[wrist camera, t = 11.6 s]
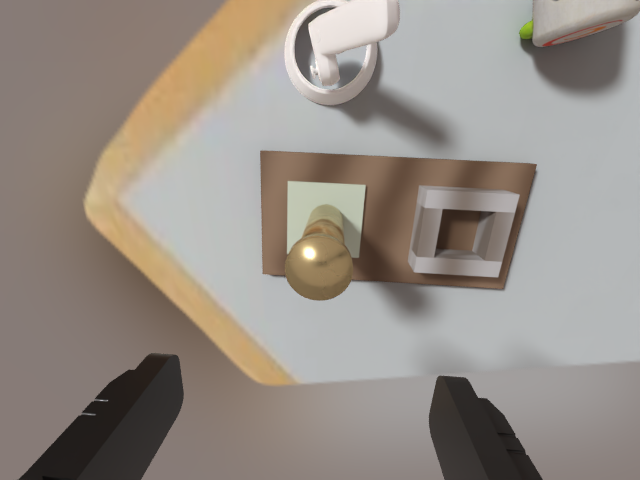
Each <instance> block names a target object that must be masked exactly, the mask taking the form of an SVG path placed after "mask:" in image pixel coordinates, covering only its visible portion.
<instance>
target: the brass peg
mask: <svg viewBox="0 0 640 480" xmlns="http://www.w3.org/2000/svg"><path fill="white" fill-rule="evenodd" d="M285 274H286V278H287V281H288V282H289V284H290V286H291V287H292V288H293V289H294V290H295V291H296V292H297V293H298V294H300V295H301V296H303V297H305V298H308V299H312V300H328V299H331V298H334V297H336V296H338V295H340V294H341V293H342V292H343V291H345V289H346V288H347V287H348V285H349V284H350V282H351V279H352V276H353V263H352V257H351V254H350V252H349V250H348V248H347V247H346V246H345V243H344V228H343V217H342V214H341V212H340V211H339V210H338V209H337V208H336V207H334V206H332V205H328V204H324V205H320V206H317V207H316V208H315V209H313V211H312V212H311V214H310V216H309V219H308V222H307V224H306V227H305V230H304V232H303V235H302V238H301V239H300V240H298V241H297V242H296V243H295V244H294V245H293V246H292V248H291V250H290V251H289V254H288V256H287V259H286V262H285Z"/></svg>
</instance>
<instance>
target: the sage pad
mask: <svg viewBox="0 0 640 480" xmlns="http://www.w3.org/2000/svg"><path fill="white" fill-rule="evenodd" d="M365 187H366V185H359V184H339V183H320V182H300V181H288V201H287V254H289V251H290V250H291V248H292V246H293V245H294V244H295V243H296V242H297V241H298V240H300V239H301V238H302V235H303V232H304V230H305V227H306V224H307V222H308V219H309V216H310V214H311V212H312V211H313V209H315V208H316V207H317V206H320V205H324V204H328V205H332V206H334V207H336V208H337V209H338V210H339V211H340V212H341V214H342V217H343V228H344V243H345V246H346V247H347V248H348V250H349V252H350V254H351V257H352V258H359V251H360V240H361V230H362V219H363V208H364V197H365Z"/></svg>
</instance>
